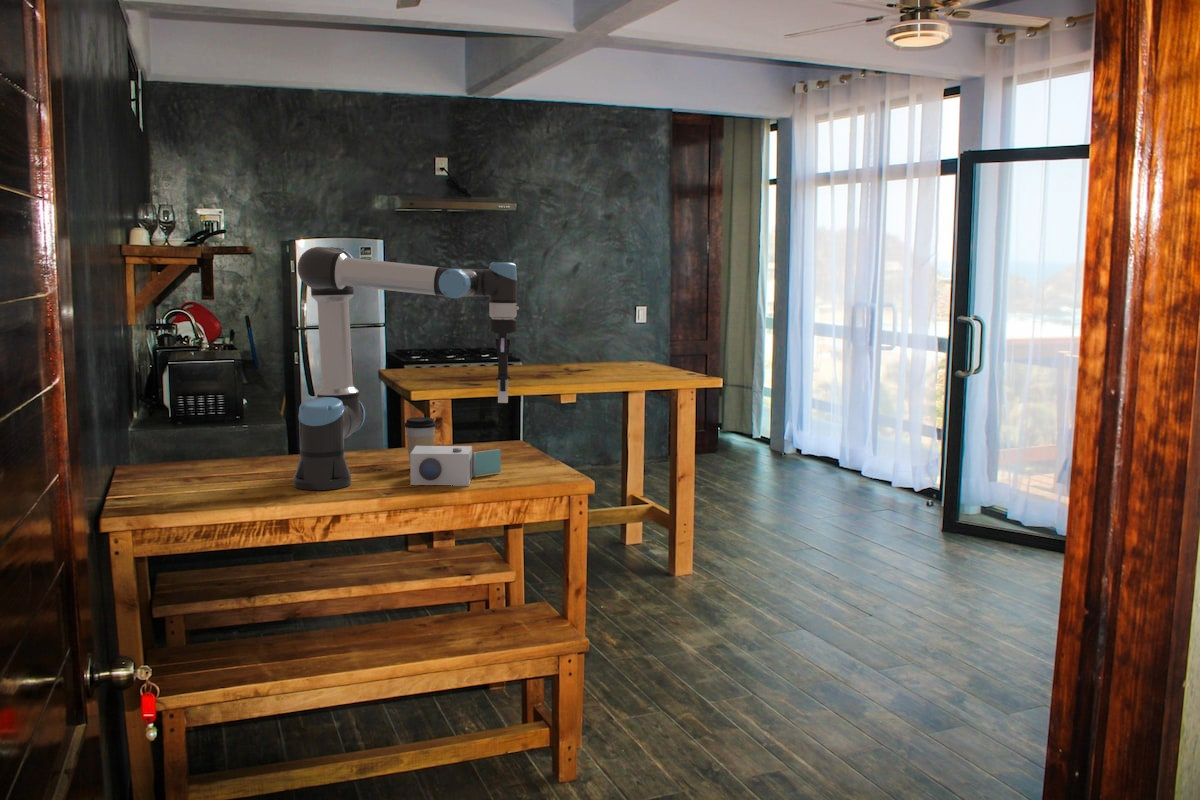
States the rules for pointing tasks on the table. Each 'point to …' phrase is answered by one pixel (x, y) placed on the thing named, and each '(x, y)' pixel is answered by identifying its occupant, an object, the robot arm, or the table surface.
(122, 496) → the table surface
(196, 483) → the table surface
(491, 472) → the side door
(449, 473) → the cabinet body
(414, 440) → the coffee cup
